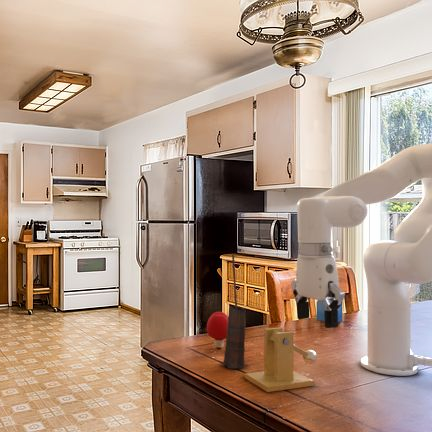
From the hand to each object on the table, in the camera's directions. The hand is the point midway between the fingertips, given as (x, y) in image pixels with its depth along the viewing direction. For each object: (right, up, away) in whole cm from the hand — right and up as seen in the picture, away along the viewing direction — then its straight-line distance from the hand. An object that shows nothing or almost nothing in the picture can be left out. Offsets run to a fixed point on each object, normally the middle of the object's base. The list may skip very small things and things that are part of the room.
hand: (316, 322), depth 111 cm
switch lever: (-7, -7, -2) cm, 10 cm away
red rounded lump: (-19, -13, +23) cm, 33 cm away
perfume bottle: (+26, -13, +59) cm, 66 cm away
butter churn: (-17, -13, +7) cm, 23 cm away
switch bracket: (-10, -13, -3) cm, 17 cm away
